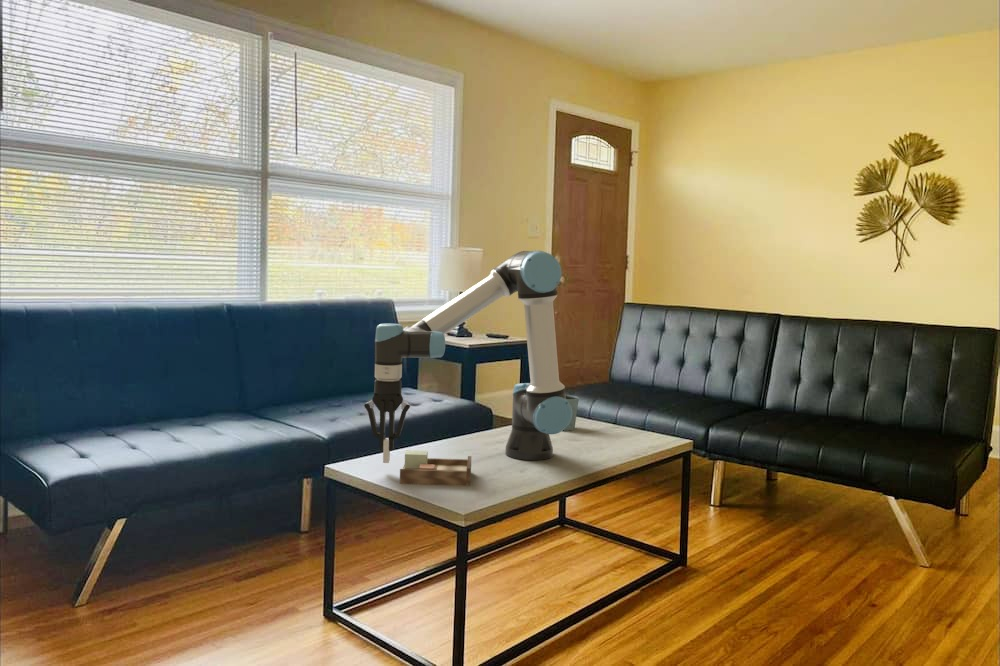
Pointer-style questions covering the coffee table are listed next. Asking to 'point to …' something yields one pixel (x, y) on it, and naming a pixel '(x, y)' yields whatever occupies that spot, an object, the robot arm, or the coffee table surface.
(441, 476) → the wooden tray
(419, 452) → the sage block
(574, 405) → the grey-blue cup
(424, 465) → the rust block
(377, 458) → the coffee table surface
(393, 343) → the robot arm
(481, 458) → the coffee table surface
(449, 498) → the coffee table surface
